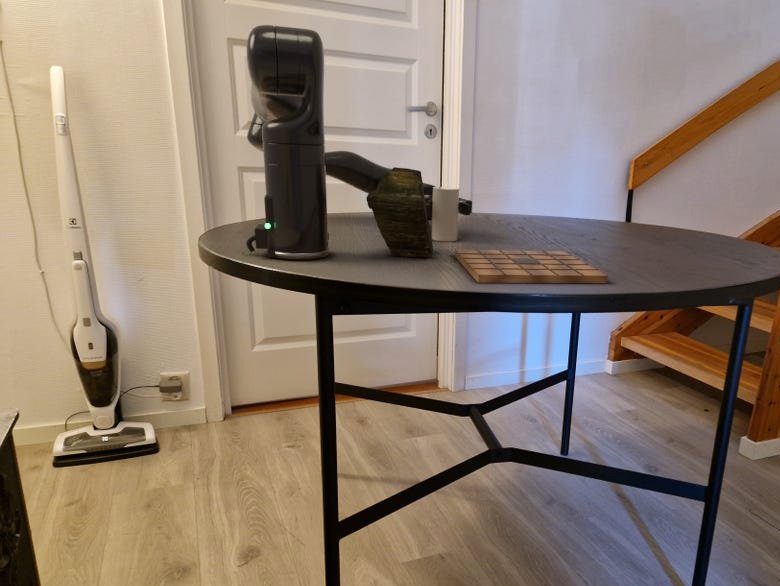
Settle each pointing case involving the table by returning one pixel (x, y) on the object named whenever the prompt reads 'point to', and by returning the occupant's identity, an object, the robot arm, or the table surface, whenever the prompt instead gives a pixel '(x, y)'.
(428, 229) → the rock
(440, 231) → the white tin can
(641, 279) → the table surface
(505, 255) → the board
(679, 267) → the table surface
